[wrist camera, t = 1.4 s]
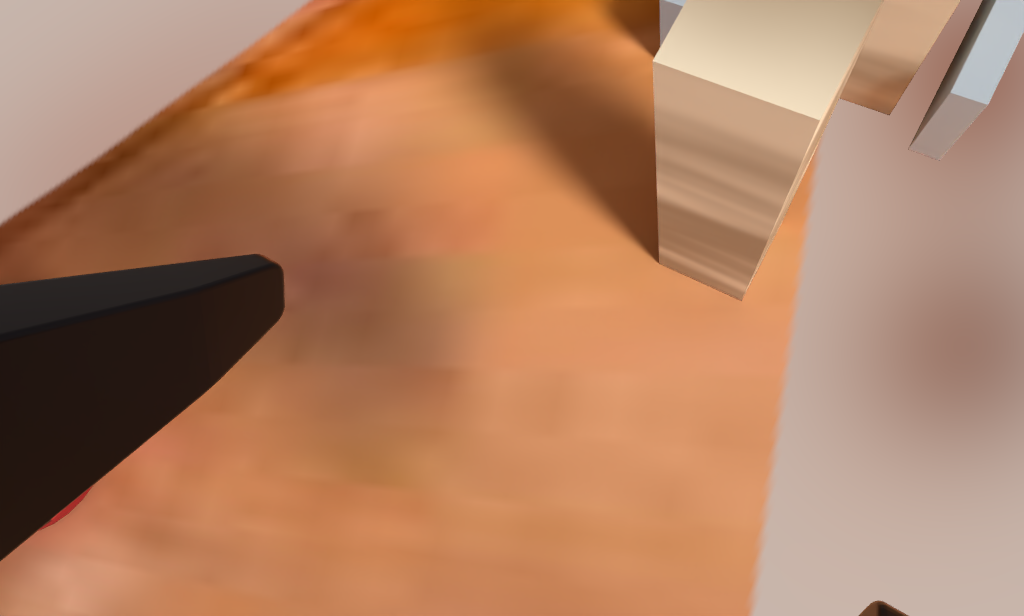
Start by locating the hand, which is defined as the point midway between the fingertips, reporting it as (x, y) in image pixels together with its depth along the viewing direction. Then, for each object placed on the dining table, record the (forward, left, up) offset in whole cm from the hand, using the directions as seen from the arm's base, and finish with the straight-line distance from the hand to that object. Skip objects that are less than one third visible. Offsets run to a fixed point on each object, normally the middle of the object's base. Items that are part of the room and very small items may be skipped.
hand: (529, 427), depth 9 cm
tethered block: (+13, -3, -14) cm, 19 cm away
